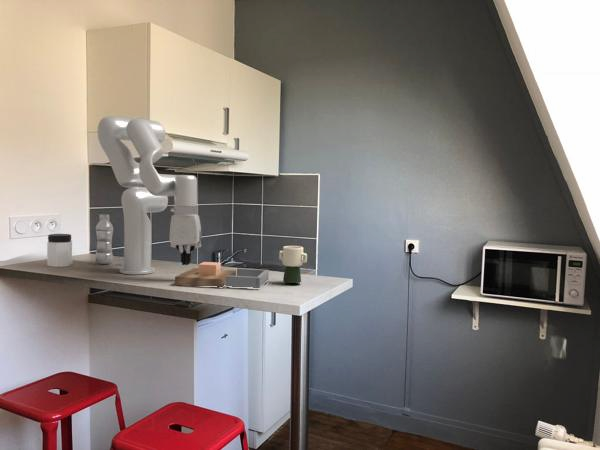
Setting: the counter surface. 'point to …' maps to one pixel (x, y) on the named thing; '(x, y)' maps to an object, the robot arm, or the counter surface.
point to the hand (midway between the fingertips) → (185, 264)
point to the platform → (203, 278)
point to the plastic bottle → (104, 240)
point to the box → (248, 278)
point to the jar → (59, 250)
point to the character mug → (292, 263)
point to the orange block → (209, 268)
